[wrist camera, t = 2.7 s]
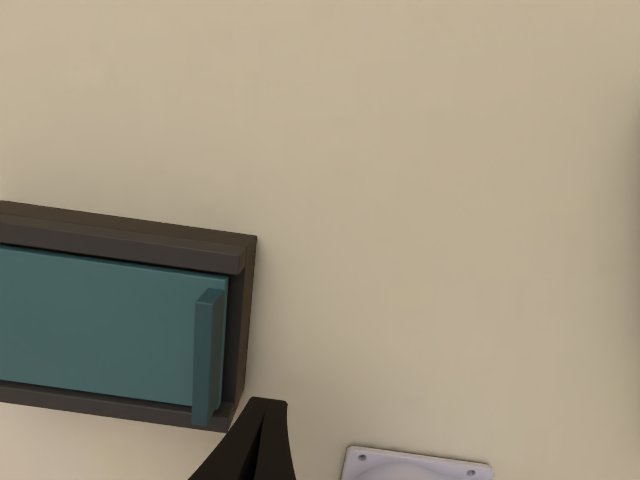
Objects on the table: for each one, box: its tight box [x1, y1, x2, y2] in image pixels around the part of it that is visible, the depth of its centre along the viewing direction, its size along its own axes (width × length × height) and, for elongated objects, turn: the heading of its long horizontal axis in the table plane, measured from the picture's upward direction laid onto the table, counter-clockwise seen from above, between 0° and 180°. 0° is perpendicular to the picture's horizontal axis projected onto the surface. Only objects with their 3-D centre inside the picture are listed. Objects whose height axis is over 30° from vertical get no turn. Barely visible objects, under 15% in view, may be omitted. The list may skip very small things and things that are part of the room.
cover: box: [0, 245, 228, 426], centre depth 15 cm, size 13×7×2 cm, turn 82°
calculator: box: [0, 201, 257, 433], centre depth 17 cm, size 14×10×3 cm
